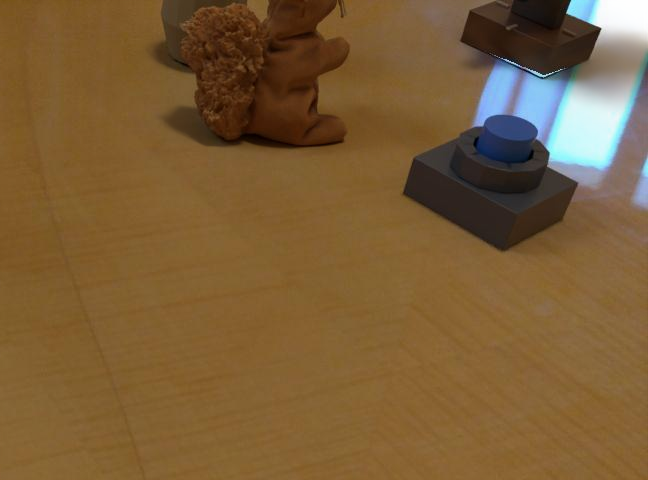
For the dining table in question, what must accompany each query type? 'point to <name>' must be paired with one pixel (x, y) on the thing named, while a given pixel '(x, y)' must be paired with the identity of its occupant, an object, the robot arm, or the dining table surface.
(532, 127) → the blue push button
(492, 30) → the panel
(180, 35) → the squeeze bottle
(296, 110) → the stuffed squirrel
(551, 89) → the dining table surface
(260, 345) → the dining table surface
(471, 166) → the push button base
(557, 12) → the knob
